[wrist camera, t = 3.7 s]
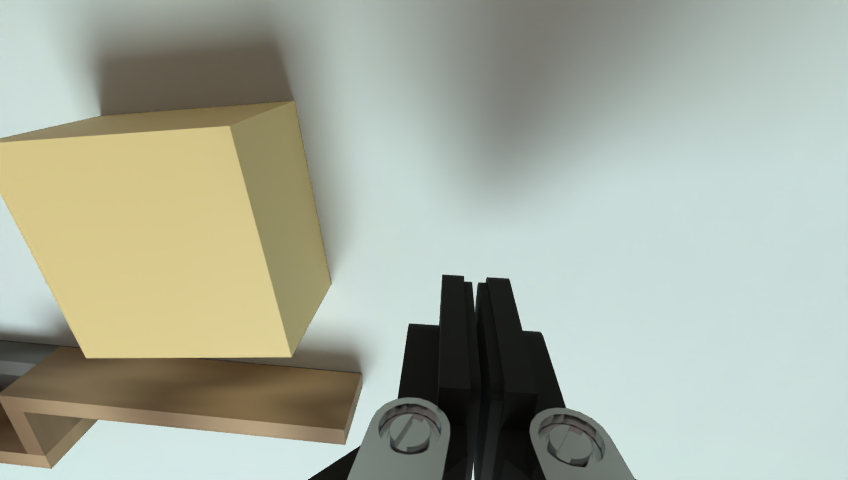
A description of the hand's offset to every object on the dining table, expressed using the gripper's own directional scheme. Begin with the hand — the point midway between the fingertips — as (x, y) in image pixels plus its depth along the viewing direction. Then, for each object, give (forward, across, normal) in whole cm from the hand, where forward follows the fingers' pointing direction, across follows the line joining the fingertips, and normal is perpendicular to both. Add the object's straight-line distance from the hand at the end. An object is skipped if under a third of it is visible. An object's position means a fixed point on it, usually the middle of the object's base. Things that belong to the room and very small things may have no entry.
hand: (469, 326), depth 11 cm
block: (+6, +9, -1) cm, 11 cm away
